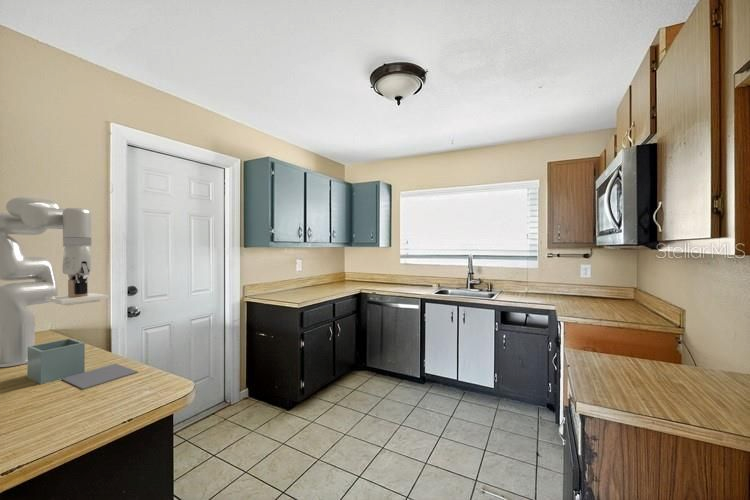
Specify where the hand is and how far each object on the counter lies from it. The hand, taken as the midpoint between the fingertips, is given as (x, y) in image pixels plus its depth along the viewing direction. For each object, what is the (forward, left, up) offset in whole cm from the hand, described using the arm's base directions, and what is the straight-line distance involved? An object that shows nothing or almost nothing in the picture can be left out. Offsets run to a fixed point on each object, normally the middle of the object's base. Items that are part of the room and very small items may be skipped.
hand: (78, 293), depth 114 cm
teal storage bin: (-7, -3, -30) cm, 31 cm away
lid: (0, 0, -2) cm, 2 cm away
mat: (+8, +4, -30) cm, 31 cm away
